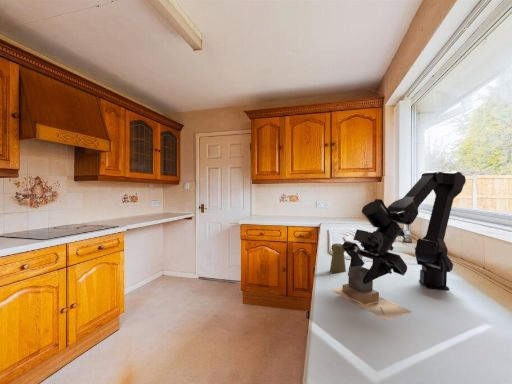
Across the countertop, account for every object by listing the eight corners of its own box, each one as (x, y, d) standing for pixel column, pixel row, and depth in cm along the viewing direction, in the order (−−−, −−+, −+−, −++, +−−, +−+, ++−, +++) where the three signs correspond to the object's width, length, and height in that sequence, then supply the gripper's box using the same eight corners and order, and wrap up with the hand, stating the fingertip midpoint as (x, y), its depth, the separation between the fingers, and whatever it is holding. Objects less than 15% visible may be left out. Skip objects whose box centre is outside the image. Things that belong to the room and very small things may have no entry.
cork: (343, 276, 92) (343, 246, 91) (327, 272, 95) (327, 244, 95) (348, 271, 96) (348, 243, 96) (332, 268, 100) (333, 241, 100)
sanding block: (342, 294, 74) (343, 266, 74) (355, 290, 76) (356, 263, 76) (364, 305, 67) (365, 274, 66) (378, 302, 69) (379, 272, 69)
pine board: (330, 293, 77) (330, 289, 77) (354, 287, 81) (354, 284, 81) (386, 324, 60) (386, 320, 60) (412, 315, 64) (412, 311, 64)
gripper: (346, 216, 81) (319, 253, 76) (401, 224, 64) (370, 273, 60) (363, 238, 84) (338, 275, 80) (419, 251, 68) (391, 299, 63)
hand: (356, 279), depth 71 cm, fingers closed on sanding block, 5 cm apart
